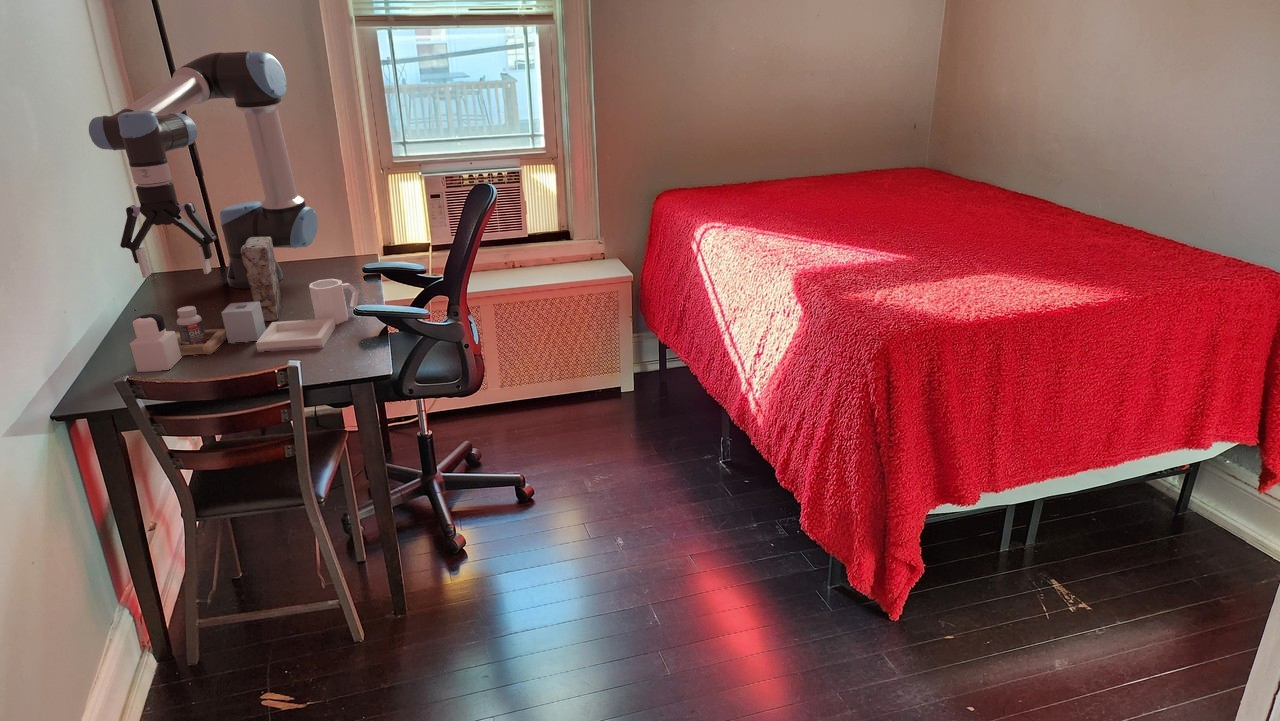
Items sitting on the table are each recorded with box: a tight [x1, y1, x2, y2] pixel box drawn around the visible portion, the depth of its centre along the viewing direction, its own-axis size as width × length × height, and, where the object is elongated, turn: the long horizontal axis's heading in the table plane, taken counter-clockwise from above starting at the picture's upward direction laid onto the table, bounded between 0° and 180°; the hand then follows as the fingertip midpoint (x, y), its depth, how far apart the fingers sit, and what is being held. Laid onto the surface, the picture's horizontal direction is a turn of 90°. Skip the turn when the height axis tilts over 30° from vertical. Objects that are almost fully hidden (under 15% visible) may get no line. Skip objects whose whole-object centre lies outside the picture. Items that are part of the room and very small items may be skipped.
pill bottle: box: [176, 305, 208, 345], centre depth 201 cm, size 5×5×10 cm
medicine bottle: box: [129, 313, 183, 373], centre depth 190 cm, size 7×7×12 cm
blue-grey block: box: [221, 301, 267, 344], centre depth 206 cm, size 7×7×8 cm
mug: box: [308, 278, 360, 326], centre depth 217 cm, size 12×9×10 cm
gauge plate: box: [175, 328, 227, 355], centre depth 202 cm, size 12×12×2 cm
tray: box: [255, 318, 336, 353], centre depth 205 cm, size 14×15×2 cm
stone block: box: [241, 237, 283, 322], centre depth 219 cm, size 13×7×20 cm, turn 21°
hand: (177, 274), depth 196 cm, fingers open, 13 cm apart
